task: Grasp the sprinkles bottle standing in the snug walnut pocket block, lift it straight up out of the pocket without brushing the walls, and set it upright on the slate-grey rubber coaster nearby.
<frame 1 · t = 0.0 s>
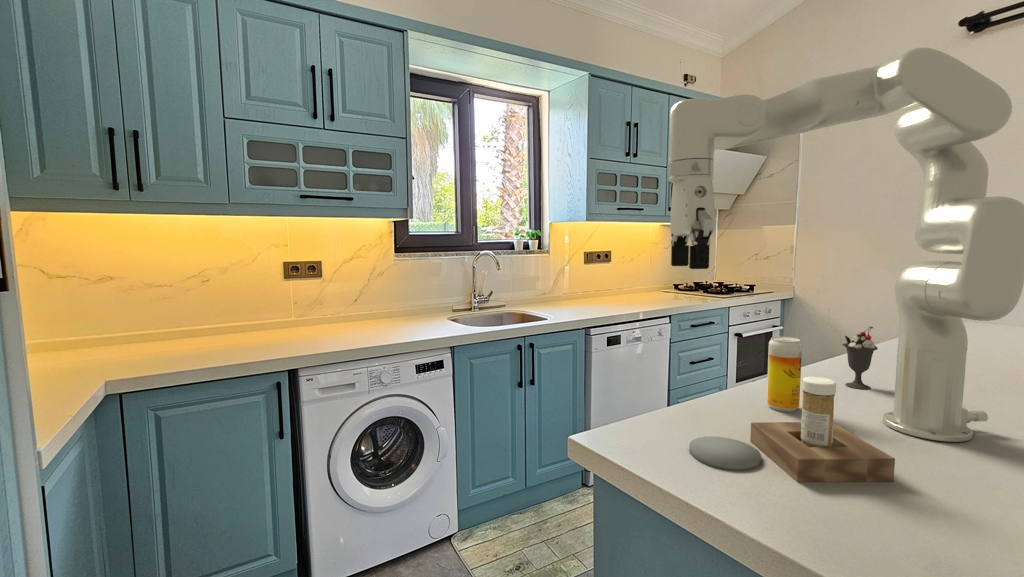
hand: (688, 267, 86), 31 cm above the countertop, fingers open, 9 cm apart
walnut pocket block: (815, 459, 76), on the countertop
beer can: (782, 408, 100), on the countertop
sundae: (857, 387, 114), on the countertop
sprinkles bottle: (815, 460, 76), resting in walnut pocket block
slate coaster: (723, 454, 79), on the countertop
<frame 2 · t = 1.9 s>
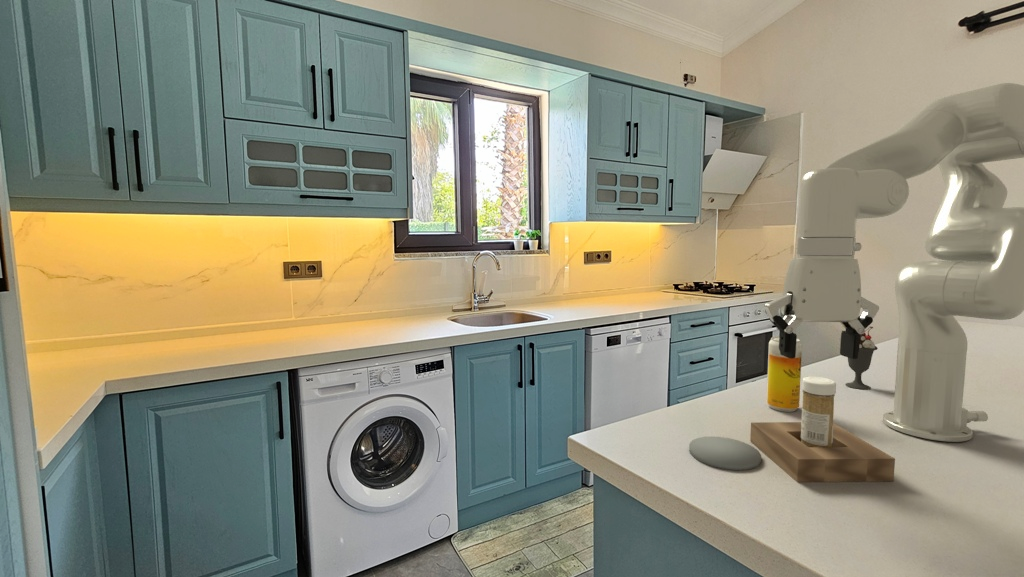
hand: (817, 356, 74), 17 cm above the countertop, fingers open, 9 cm apart
nothing on the countertop moved.
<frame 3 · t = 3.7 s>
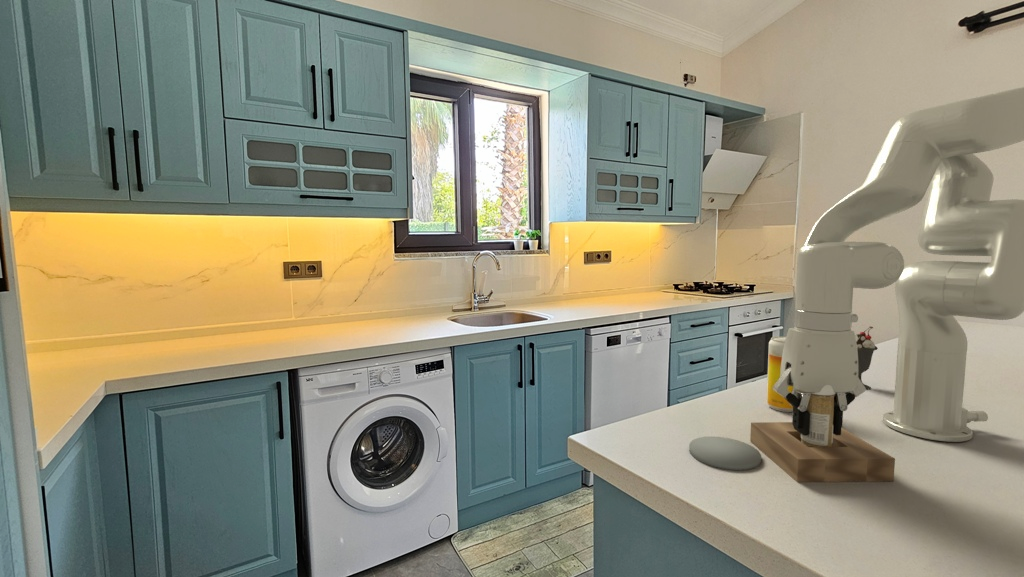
hand: (816, 430, 76), 5 cm above the countertop, fingers closed on sprinkles bottle, 4 cm apart
sprinkles bottle: (815, 460, 76), resting in walnut pocket block, touching gripper
everything else where it was.
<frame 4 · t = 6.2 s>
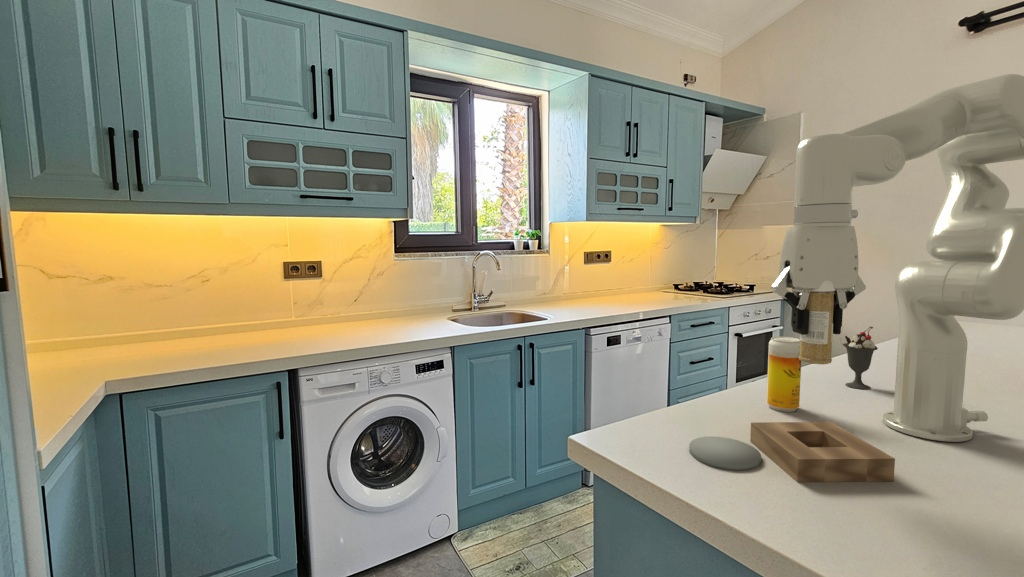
hand: (815, 331, 74), 21 cm above the countertop, fingers closed on sprinkles bottle, 4 cm apart
sprinkles bottle: (814, 362, 75), point 16 cm above the countertop, touching gripper
everything else where it was.
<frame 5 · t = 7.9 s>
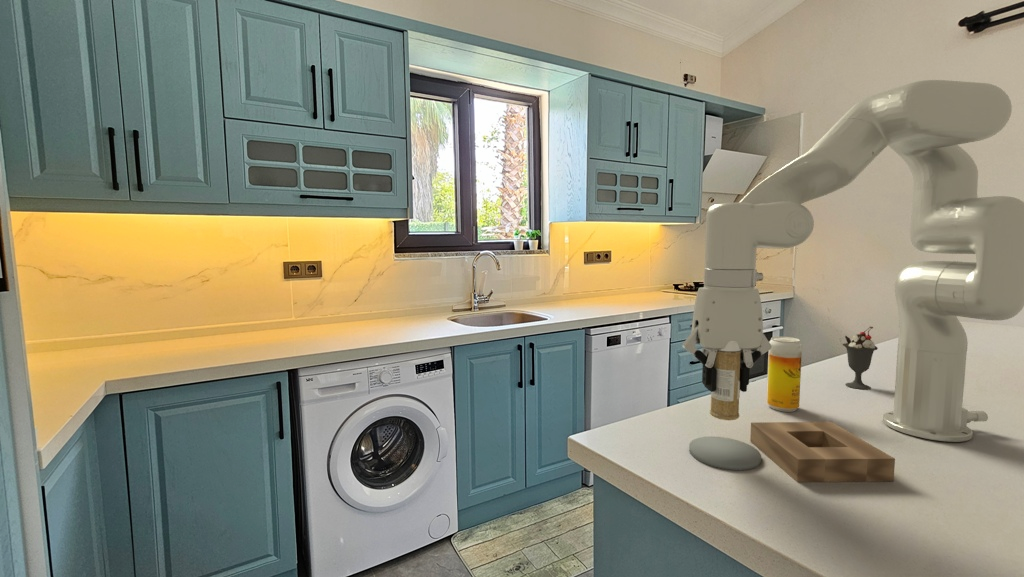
hand: (725, 388, 77), 12 cm above the countertop, fingers closed on sprinkles bottle, 4 cm apart
sprinkles bottle: (723, 417, 78), point 7 cm above the countertop, touching gripper
everything else where it was.
when the fingers open (7 cm above the countertop, at t = 9.1 s): sprinkles bottle drops 1 cm, resting on slate coaster.
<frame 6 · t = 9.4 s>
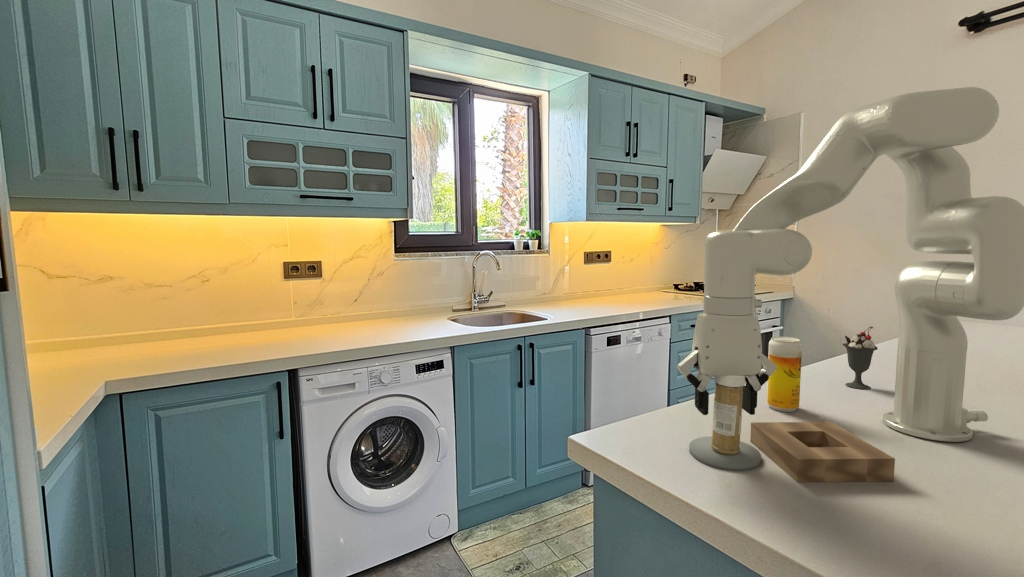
hand: (725, 411, 78), 8 cm above the countertop, fingers open, 7 cm apart
sprinkles bottle: (724, 450, 79), point 1 cm above the countertop, touching slate coaster
everything else where it was.
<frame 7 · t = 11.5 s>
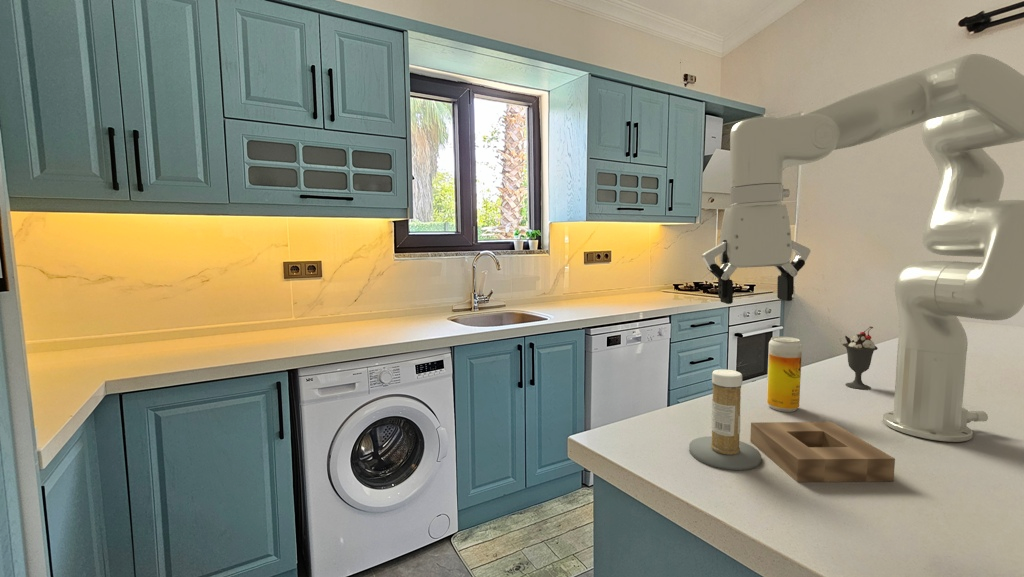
hand: (755, 301, 78), 26 cm above the countertop, fingers open, 9 cm apart
nothing on the countertop moved.
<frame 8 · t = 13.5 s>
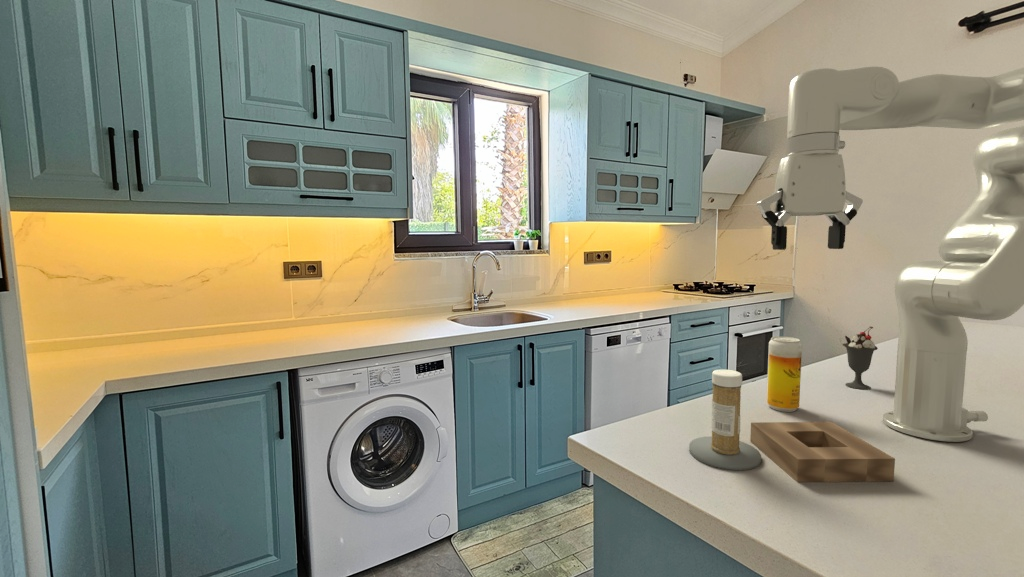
hand: (807, 249, 81), 34 cm above the countertop, fingers open, 9 cm apart
nothing on the countertop moved.
at the end: sprinkles bottle 0.1 cm off-centre on the slate coaster, point 0.6 cm above the slate coaster's base; sprinkles bottle tilted 0°; the gripper is holding nothing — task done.
